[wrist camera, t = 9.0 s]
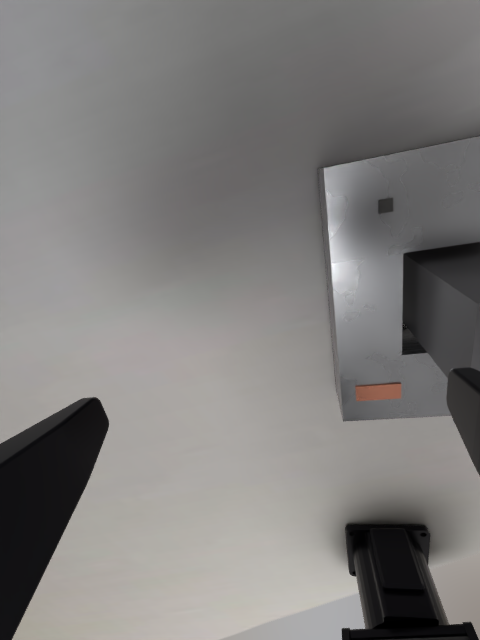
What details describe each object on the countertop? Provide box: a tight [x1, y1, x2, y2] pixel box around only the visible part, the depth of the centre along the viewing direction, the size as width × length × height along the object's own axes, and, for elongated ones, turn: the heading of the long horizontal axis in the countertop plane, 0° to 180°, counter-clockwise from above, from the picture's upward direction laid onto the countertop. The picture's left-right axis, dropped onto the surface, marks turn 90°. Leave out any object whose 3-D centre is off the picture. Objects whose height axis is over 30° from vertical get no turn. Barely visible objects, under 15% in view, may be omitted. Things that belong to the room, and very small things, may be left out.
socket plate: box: [318, 136, 480, 421], centre depth 17 cm, size 14×12×3 cm
